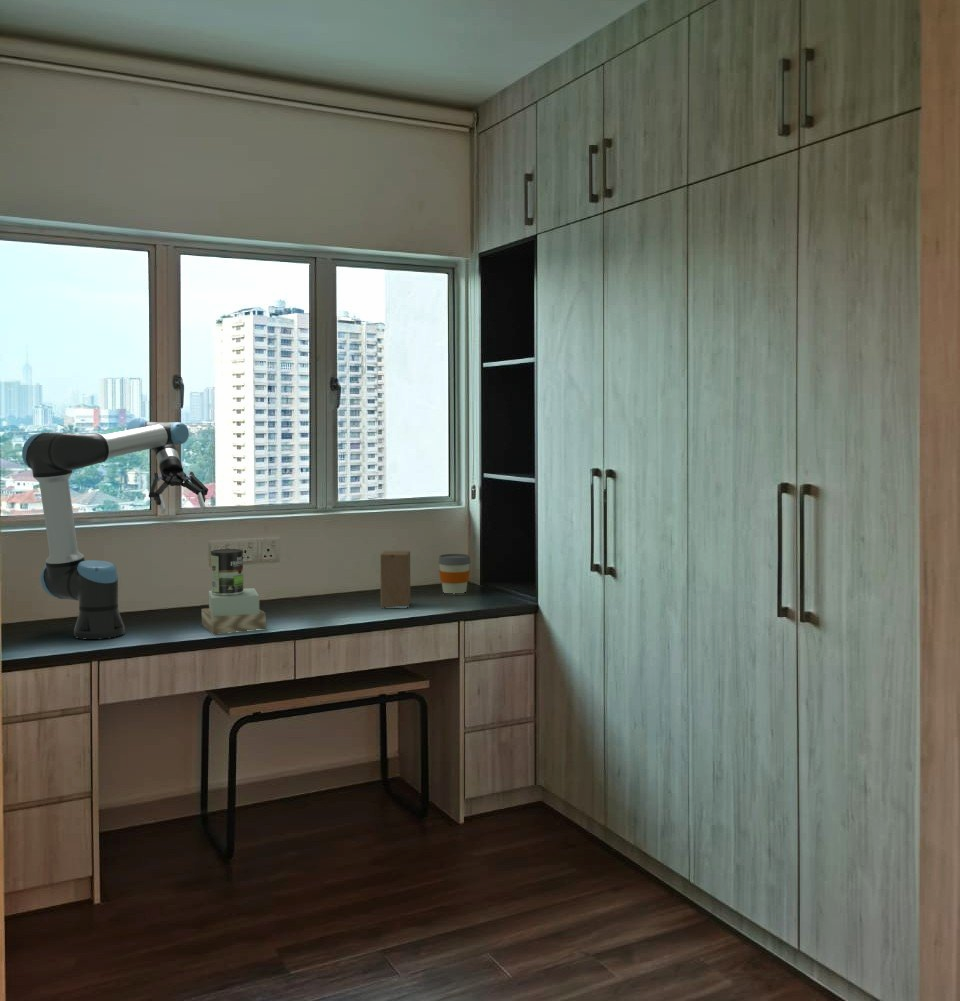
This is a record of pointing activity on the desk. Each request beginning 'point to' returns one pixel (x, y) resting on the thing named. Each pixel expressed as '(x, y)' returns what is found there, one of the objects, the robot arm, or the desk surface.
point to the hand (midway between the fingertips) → (184, 510)
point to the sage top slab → (234, 603)
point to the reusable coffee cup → (454, 572)
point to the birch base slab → (233, 622)
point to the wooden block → (395, 578)
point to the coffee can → (227, 572)
